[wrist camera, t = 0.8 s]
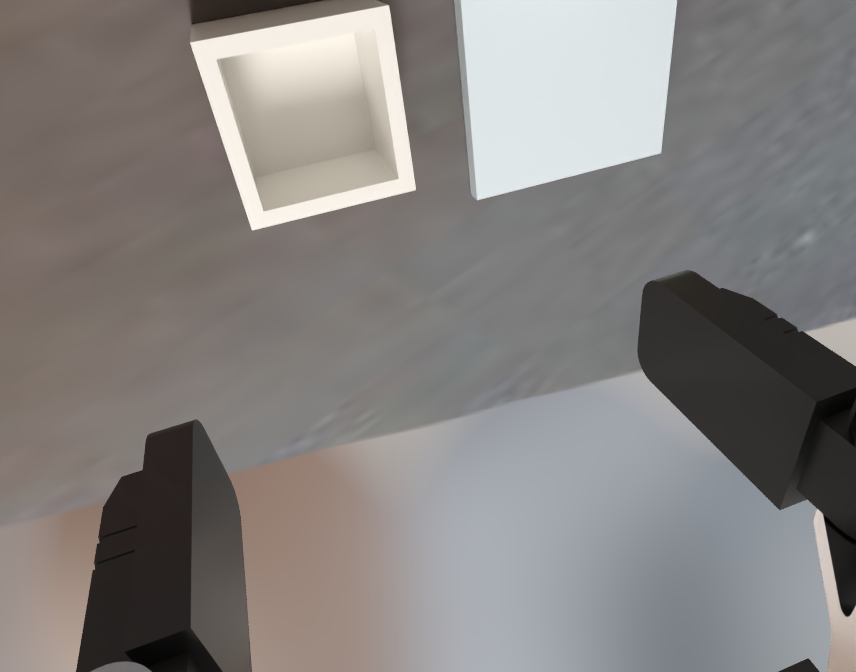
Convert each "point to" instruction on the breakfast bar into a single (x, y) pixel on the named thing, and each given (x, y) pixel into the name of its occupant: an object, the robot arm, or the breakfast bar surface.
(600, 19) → the thin white panel
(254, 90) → the pot white
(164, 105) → the breakfast bar surface
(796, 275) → the breakfast bar surface
